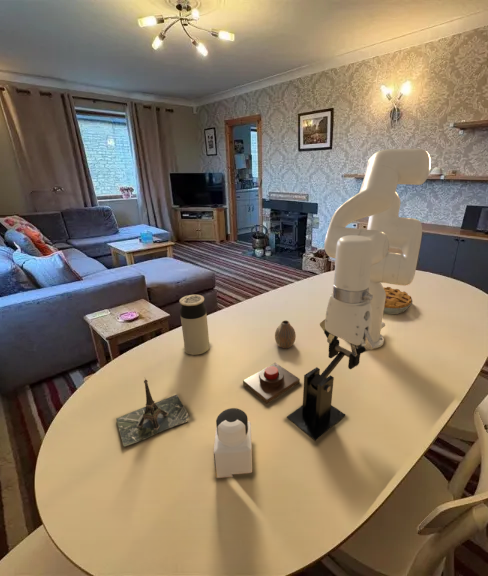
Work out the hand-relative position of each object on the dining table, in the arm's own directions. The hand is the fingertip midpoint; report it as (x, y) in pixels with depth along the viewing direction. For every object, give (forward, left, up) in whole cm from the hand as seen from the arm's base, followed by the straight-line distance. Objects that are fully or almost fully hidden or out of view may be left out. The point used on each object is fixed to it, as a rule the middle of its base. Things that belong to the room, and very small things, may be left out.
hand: (342, 360), depth 75 cm
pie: (-62, -22, -13) cm, 67 cm away
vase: (-8, -28, -13) cm, 32 cm away
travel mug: (+15, -46, -13) cm, 50 cm away
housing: (+9, -16, -13) cm, 22 cm away
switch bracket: (+9, 0, -13) cm, 16 cm away
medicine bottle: (+30, -4, -13) cm, 33 cm away
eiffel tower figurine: (+38, -26, -13) cm, 48 cm away
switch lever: (+4, 0, -1) cm, 4 cm away
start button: (+9, -16, -9) cm, 21 cm away
